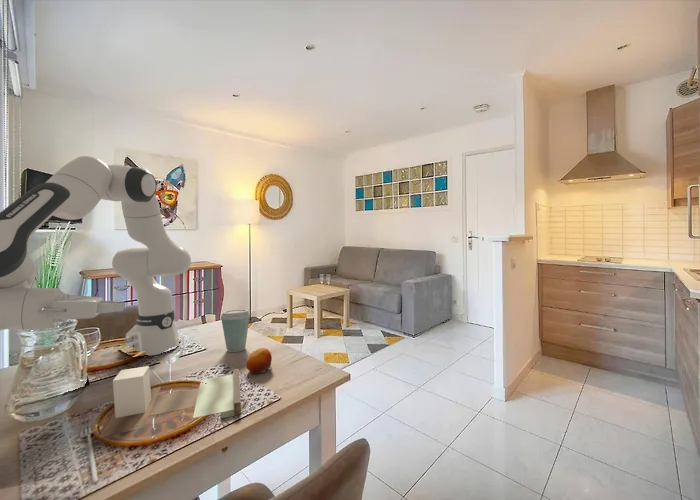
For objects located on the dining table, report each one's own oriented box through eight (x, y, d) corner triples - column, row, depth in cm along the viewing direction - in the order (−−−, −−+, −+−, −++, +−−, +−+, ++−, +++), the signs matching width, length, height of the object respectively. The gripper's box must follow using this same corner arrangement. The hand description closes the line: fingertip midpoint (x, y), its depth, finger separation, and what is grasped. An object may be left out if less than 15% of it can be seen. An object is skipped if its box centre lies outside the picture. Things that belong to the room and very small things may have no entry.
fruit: (270, 372, 96) (257, 349, 96) (251, 384, 97) (237, 361, 98) (281, 361, 104) (269, 340, 104) (263, 372, 105) (251, 351, 106)
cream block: (115, 418, 74) (112, 380, 73) (123, 404, 79) (121, 370, 79) (145, 412, 76) (143, 375, 75) (151, 399, 81) (149, 365, 81)
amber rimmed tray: (99, 444, 67) (98, 430, 67) (127, 397, 86) (127, 387, 85) (241, 414, 77) (240, 402, 77) (239, 378, 96) (238, 368, 95)
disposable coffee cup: (219, 348, 121) (217, 309, 120) (247, 342, 127) (246, 305, 126) (225, 357, 112) (223, 315, 111) (255, 350, 118) (254, 310, 117)
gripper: (36, 295, 61) (124, 293, 69) (57, 292, 78) (126, 291, 85) (32, 328, 60) (121, 323, 68) (55, 318, 77) (124, 315, 85)
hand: (124, 305), depth 77 cm, fingers open, 8 cm apart
